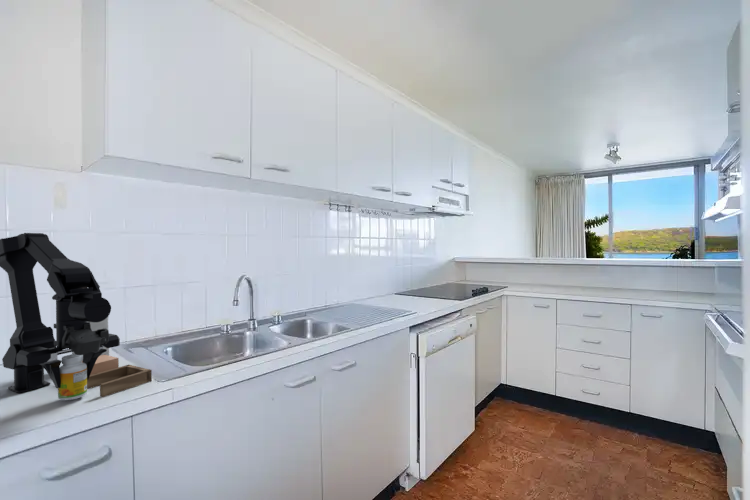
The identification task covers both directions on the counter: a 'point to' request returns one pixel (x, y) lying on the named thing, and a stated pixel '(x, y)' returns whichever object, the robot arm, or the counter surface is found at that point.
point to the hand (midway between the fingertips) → (72, 383)
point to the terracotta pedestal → (105, 364)
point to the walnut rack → (119, 379)
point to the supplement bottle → (72, 377)
